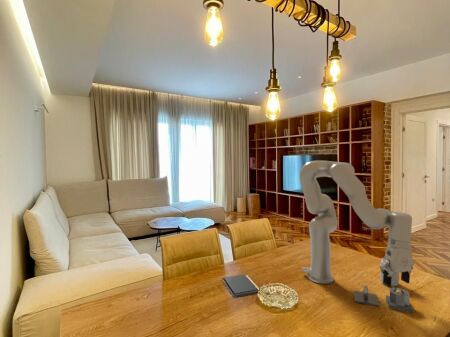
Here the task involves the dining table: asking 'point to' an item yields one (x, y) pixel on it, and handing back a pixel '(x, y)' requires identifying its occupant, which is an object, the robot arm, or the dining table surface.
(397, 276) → the can
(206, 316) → the dining table surface
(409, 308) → the square base with peg
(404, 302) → the collar
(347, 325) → the dining table surface
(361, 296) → the stand
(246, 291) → the dark grey book
